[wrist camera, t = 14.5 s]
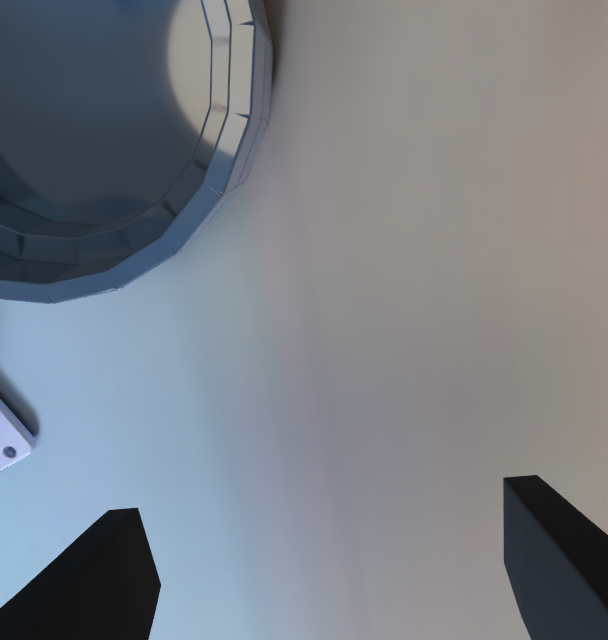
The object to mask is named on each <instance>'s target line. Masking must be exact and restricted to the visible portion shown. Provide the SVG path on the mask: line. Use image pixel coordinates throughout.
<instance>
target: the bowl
mask: <svg viewBox="0 0 608 640" xmlns="http://www.w3.org/2000/svg"><path fill="white" fill-rule="evenodd" d="M272 47H273V43H272V39H271V34H270V30H269V25H268V21H267V16H266V12H265V7H264V3H263V0H0V299H5V300H15V301H25V302H35V303H45V304H51V303H53V304H55V303H60V302H64V301H69V300H74V299H78V298H83V297H87V296H92V295H97V294H101V293H106V292H110V291H115V290H117V289H120V288H123V287H124V286H126V285H127V284H129V283H131V282H132V281H134V280H135V279H137V278H139V277H140V276H142V275H144V274H145V273H147V272H148V271H150V270H152V269H153V268H155V267H157V266H158V265H160V264H161V263H163V262H165V261H166V260H168V259H169V258H171V257H173V256H174V255H176V254H177V253H178V252H180V251H181V250H182V249H183V248H184V247H186V246H187V245H188V244H189V243H190V242H192V241H193V240H194V239H195V238H197V237H198V236H199V235H200V234H201V233H203V232H204V231H205V230H206V229H207V228H208V227H209V226H211V224H212V223H213V222H214V221H215V219H216V218H217V217H218V216H219V215H220V213H221V212H222V211H223V210H224V208H225V207H226V206H227V205H228V203H229V202H230V201H231V200H232V198H233V197H234V196H235V195H236V193H237V192H238V191H239V190H240V188H241V187H242V186H243V185H244V183H245V180H246V179H247V178H248V175H249V173H250V170H251V167H252V165H253V162H254V159H255V157H256V154H257V151H258V149H259V146H260V143H261V141H262V138H263V135H264V133H265V130H266V127H267V125H268V119H269V116H270V99H271V83H272V66H273V48H272Z"/></svg>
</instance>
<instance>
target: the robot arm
mask: <svg viewBox="0 0 608 640" xmlns="http://www.w3.org/2000/svg"><path fill="white" fill-rule="evenodd" d="M9 446H10V447H12V448H14V449H15V451H16V452H15V451H13V450H11V449H10V447H9ZM35 447H36V440H35V439H34V437H33V436H32V435H31V433H30V432H29V431H28V430H27V429H26V428H25V427H24V425H23V424H22V423H21V422H20V421H19V420H18V419H17V417H16V416H15V415H14V414H13V413H12V412H11V411H10V410H9V408H8V407H7V406H6V405H5V404H4V403H3V402H2V400H1V399H0V471H1V470H3V469H4V468H6V467H8V466H10V465H12V464H13V463H15V462H17V461H19V460H21V459H22V458H24V457H26V456H28V455H29V454H30V453H31V452H32V451H33V450H34V449H35ZM504 564H505V567H506V570H507V573H508V576H509V580H510V583H511V586H512V589H513V592H514V595H515V598H516V601H517V605H518V608H519V611H520V614H521V617H522V619H523V621H524V624H525V626H526V628H527V631H528V633H529V635H530V637H531V640H608V535H607V534H606V533H605V532H604V531H602V530H601V529H600V528H599V527H597V526H596V525H595V524H594V523H593V522H591V521H590V520H589V519H588V518H587V517H586V516H584V515H583V514H582V513H581V512H580V511H578V510H577V509H576V508H575V507H574V506H573V505H571V504H570V503H569V502H568V501H567V500H566V499H564V498H563V497H562V496H561V495H560V494H559V493H557V492H556V491H555V490H554V489H553V488H552V487H550V486H549V485H548V484H547V483H546V482H545V481H543V480H542V479H541V478H540V477H539V476H537V475H531V476H519V477H506V478H504ZM160 588H161V583H160V580H159V576H158V573H157V570H156V566H155V563H154V560H153V557H152V553H151V550H150V547H149V543H148V540H147V537H146V533H145V530H144V527H143V523H142V520H141V517H140V513H139V510H138V508H129V509H117V510H109V511H107V512H106V513H105V514H104V515H103V516H101V517H100V518H99V519H98V520H97V521H96V522H95V523H93V524H92V525H91V526H90V527H89V528H88V529H87V530H86V531H85V532H84V533H83V534H81V535H80V536H79V537H78V538H77V539H76V540H75V541H74V542H73V543H72V544H71V545H70V546H68V547H67V548H66V549H65V550H64V551H63V552H62V553H61V554H60V555H59V556H58V557H57V558H56V559H55V560H53V561H52V562H51V563H50V564H49V565H48V566H47V567H46V568H45V569H44V570H43V571H41V572H40V573H39V574H38V575H37V576H36V577H35V578H34V579H33V580H32V581H30V582H29V583H28V584H27V585H26V586H25V587H24V588H23V589H22V590H21V591H20V592H18V593H17V594H16V595H15V596H14V597H13V598H12V599H10V600H9V601H8V602H7V603H6V604H5V605H3V606H2V607H1V608H0V640H148V639H149V635H150V631H151V627H152V623H153V619H154V615H155V611H156V606H157V601H158V597H159V592H160Z"/></svg>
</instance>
